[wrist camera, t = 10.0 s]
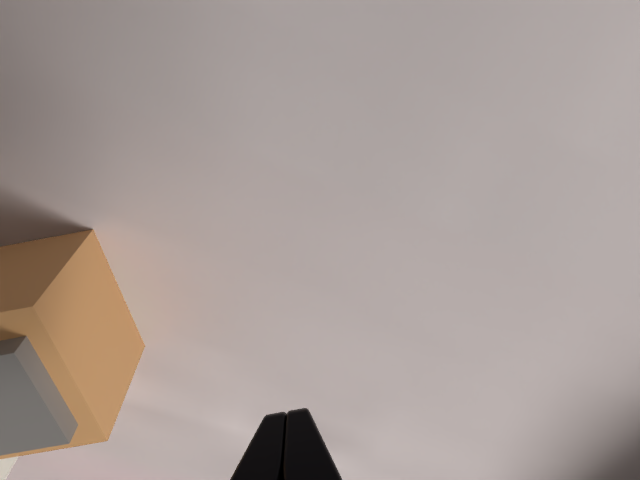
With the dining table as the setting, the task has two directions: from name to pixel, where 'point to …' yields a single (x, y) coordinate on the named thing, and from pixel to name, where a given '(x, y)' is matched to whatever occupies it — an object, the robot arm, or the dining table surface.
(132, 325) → the orange base grey top
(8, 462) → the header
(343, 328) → the dining table surface
